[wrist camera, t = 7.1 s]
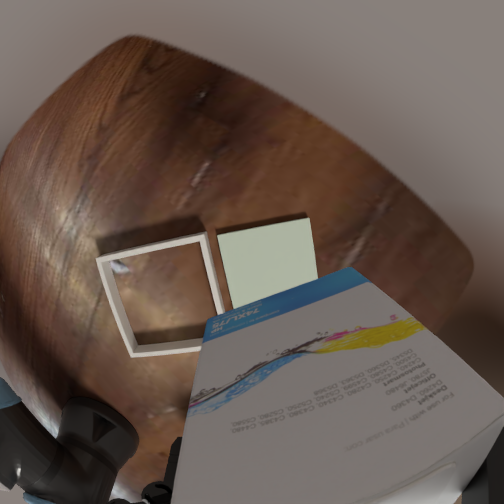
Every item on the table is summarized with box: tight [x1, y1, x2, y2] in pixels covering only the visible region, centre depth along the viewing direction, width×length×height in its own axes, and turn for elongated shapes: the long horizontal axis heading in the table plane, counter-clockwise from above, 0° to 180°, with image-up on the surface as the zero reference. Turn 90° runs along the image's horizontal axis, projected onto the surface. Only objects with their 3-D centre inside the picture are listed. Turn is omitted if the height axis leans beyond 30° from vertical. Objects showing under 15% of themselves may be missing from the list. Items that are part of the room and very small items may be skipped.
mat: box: [217, 218, 318, 309], centre depth 31 cm, size 10×11×1 cm
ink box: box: [171, 267, 504, 504], centre depth 9 cm, size 8×8×12 cm
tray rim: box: [96, 231, 225, 357], centre depth 30 cm, size 13×13×2 cm
